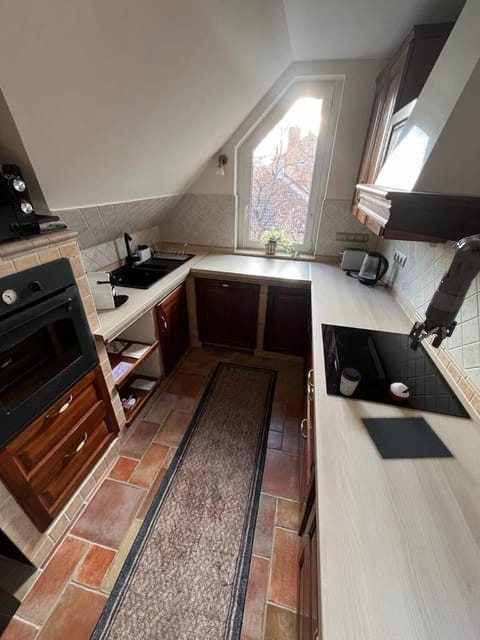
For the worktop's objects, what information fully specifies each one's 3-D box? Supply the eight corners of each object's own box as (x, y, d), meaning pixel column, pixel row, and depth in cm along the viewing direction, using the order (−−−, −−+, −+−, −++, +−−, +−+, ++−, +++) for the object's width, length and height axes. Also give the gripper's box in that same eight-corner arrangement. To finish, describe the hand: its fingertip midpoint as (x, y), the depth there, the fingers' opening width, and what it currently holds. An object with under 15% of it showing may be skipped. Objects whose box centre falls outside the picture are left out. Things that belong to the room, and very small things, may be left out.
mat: (422, 418, 89) (422, 417, 89) (452, 456, 77) (453, 455, 77) (361, 419, 88) (361, 418, 88) (382, 458, 76) (382, 457, 76)
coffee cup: (358, 392, 99) (365, 372, 94) (350, 401, 95) (356, 381, 90) (342, 382, 103) (348, 363, 98) (333, 390, 99) (338, 371, 94)
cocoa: (386, 387, 101) (396, 364, 95) (404, 393, 99) (416, 369, 93) (387, 404, 94) (398, 380, 88) (406, 410, 92) (419, 386, 86)
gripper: (435, 312, 73) (414, 357, 81) (475, 309, 75) (451, 352, 83) (415, 301, 79) (397, 343, 87) (452, 298, 82) (432, 339, 90)
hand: (424, 348), depth 85 cm, fingers open, 8 cm apart
